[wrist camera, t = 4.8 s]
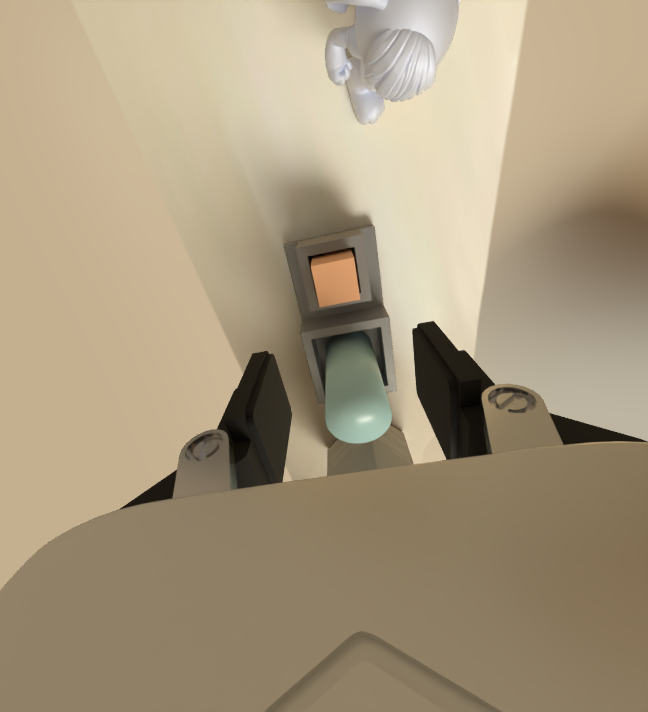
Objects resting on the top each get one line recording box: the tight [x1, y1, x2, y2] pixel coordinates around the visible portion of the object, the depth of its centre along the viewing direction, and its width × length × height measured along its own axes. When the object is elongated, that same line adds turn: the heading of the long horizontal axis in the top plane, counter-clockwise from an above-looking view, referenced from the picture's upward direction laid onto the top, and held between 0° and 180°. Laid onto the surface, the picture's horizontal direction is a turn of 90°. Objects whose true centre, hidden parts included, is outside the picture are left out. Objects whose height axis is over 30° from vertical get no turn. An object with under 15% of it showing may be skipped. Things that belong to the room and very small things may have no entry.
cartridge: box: [325, 331, 392, 443], centre depth 27 cm, size 5×5×11 cm
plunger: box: [311, 248, 360, 307], centre depth 25 cm, size 3×3×5 cm
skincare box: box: [327, 425, 413, 476], centre depth 32 cm, size 8×7×16 cm
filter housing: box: [284, 225, 397, 403], centre depth 29 cm, size 15×8×4 cm, turn 11°
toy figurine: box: [325, 0, 460, 125], centre depth 17 cm, size 7×6×12 cm
